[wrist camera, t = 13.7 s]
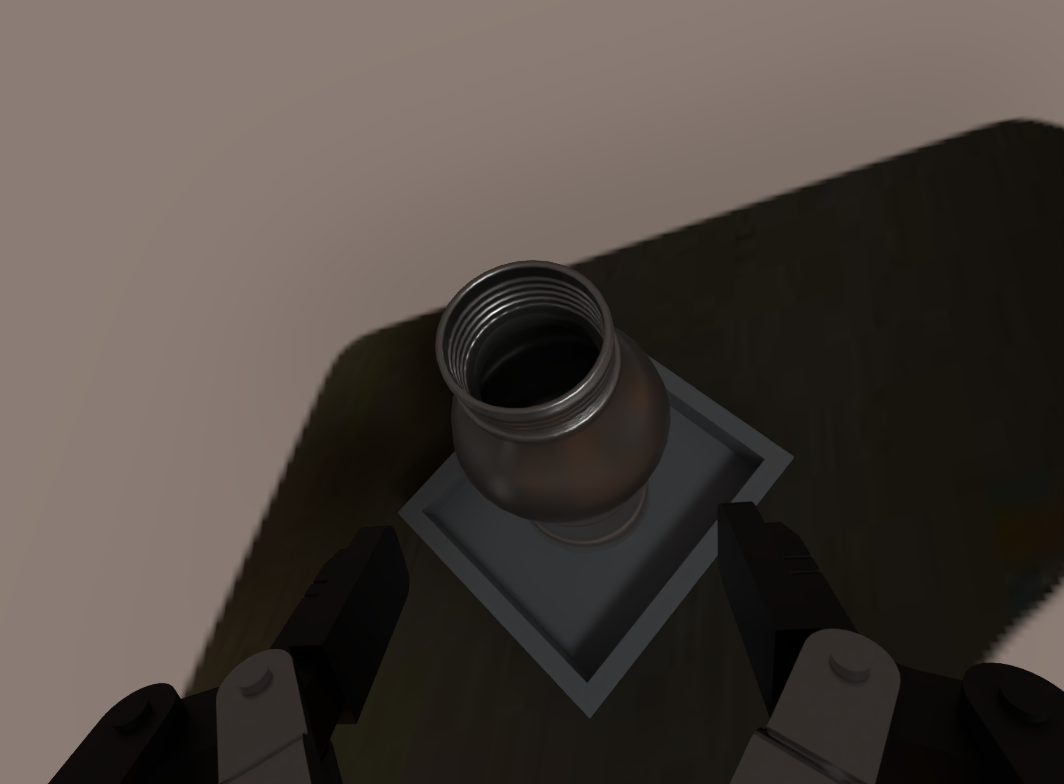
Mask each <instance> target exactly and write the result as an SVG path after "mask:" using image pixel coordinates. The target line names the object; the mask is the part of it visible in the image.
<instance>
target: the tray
mask: <svg viewBox="0 0 1064 784" xmlns="http://www.w3.org/2000/svg"><path fill="white" fill-rule="evenodd" d="M647 356H648V355H647ZM648 357H649V356H648ZM649 358H650V360H651V361H652V363H653V364H654V366H655V367H656V369H657V371H658V373H659V375H660V376H661V378H662V380H663V382H664V385H665V388H666V392H667V395H668V399H669V404H670V418H671V423H670V430H669V436H668V442H667V445H666V447H665V450H664V452H663V455H662V457H661V460H660V462H659V464H658V465H657V467H656V469H655V470H654V472H653V473H652V475H651V476H650V478H649V480H650V489H651V496H650V502H649V508H648V510H647V513H646V515H645V518H644V520H643V521H642V523H641V524H640V526H639V527H638V529H637V530H636V531H635V532H634V533H633V534H632V535H631V536H630V537H629V538H628V539H627V540H625V541H624V542H622V543H621V544H619V545H618V546H616V547H613V548H611V549H608V550H606V551H601V552H596V553H575V552H571V551H566V550H563V549H561V548H559V547H557V546H554V545H552V544H551V543H550V542H548V541H547V540H545V539H544V538H543V537H542V536H541V535H540V534H539V533H538V532H537V531H536V530H535V529H534V528H533V526H532V524H531V523H530V521H529V520H527V519H525V518H521V517H519V516H516V515H514V514H512V513H509V512H507V511H505V510H502V509H501V508H499V507H498V506H496V505H495V504H493V503H492V502H491V501H489V500H488V499H486V498H485V497H484V496H483V495H482V494H481V493H480V492H479V491H478V490H477V489H476V488H475V487H474V486H473V484H472V483H471V482H470V481H469V479H468V477H467V476H466V474H465V472H464V471H463V469H462V467H461V466H460V463H459V460H458V457H457V454H456V451H454V452H453V454H452V455H451V456H450V457H449V458H448V459H447V460H446V461H445V462H444V463H443V464H442V465H441V466H440V468H439V469H438V470H437V471H436V472H435V473H434V474H433V475H432V476H431V477H430V478H429V479H428V481H427V482H426V483H425V484H424V485H423V486H422V487H421V488H420V489H419V490H418V491H417V492H416V493H415V495H414V496H413V497H412V498H411V499H410V500H409V501H408V502H407V503H406V504H405V505H404V506H403V508H402V509H401V510H400V511H399V512H398V514H399V515H400V516H401V517H402V518H403V519H404V520H405V521H406V522H407V523H408V524H409V526H410V527H411V528H412V529H413V530H414V531H415V532H416V533H417V534H418V535H419V536H420V537H421V538H422V539H423V540H424V542H425V543H426V544H427V545H428V546H429V547H430V548H431V549H432V550H433V551H434V552H435V553H436V554H437V555H438V557H439V558H440V559H441V560H442V561H443V562H444V563H445V564H446V565H447V566H448V567H449V568H450V569H451V570H452V572H453V573H454V574H455V575H456V576H457V577H458V578H459V579H460V580H461V581H462V582H463V583H464V584H465V585H466V587H467V588H468V589H469V590H470V591H471V592H472V593H473V594H474V595H475V596H476V597H477V598H478V599H479V600H480V602H481V603H482V604H483V605H484V606H485V607H486V608H487V609H488V610H489V611H490V612H491V613H492V614H493V615H494V616H495V618H496V619H497V620H498V621H499V622H500V623H501V624H502V625H503V626H504V627H505V628H506V629H507V630H508V631H509V633H510V634H511V635H512V636H513V637H514V638H515V639H516V640H517V641H518V642H519V643H520V644H521V645H522V646H523V648H524V649H525V650H526V651H527V652H528V653H529V654H530V655H531V656H532V657H533V658H534V659H535V660H536V661H537V663H538V664H539V665H540V666H541V667H542V668H543V669H544V670H545V671H546V672H547V673H548V674H549V675H550V676H551V678H552V679H553V680H554V681H555V682H556V683H557V684H558V685H559V686H560V687H561V688H562V689H563V690H564V691H565V692H566V694H567V695H568V696H569V697H570V698H571V699H572V700H573V701H574V702H575V703H576V704H577V705H578V706H579V707H580V709H581V710H582V711H583V712H584V713H585V714H586V715H587V716H588V717H589V718H591V716H592V715H593V714H594V713H595V711H596V710H597V709H598V708H599V706H600V705H601V704H602V702H603V701H604V700H605V699H606V697H607V696H608V695H609V693H610V692H611V691H612V690H613V688H614V687H615V686H616V684H617V683H618V682H619V681H620V679H621V678H622V677H623V676H624V674H625V673H626V672H627V670H628V669H629V668H630V667H631V665H632V664H633V663H634V661H635V660H636V659H637V658H638V656H639V655H640V654H641V652H642V651H643V650H644V649H645V647H646V646H647V645H648V644H649V642H650V641H651V640H652V638H653V637H654V636H655V635H656V633H657V632H658V631H659V629H660V628H661V627H662V626H663V624H664V623H665V622H666V621H667V619H668V618H669V617H670V615H671V614H672V613H673V612H674V610H675V609H676V608H677V606H678V605H679V604H680V603H681V601H682V600H683V599H684V597H685V596H686V595H687V594H688V592H689V591H690V590H691V589H692V587H693V586H694V585H695V583H696V582H697V581H698V580H699V578H700V577H701V576H702V574H703V573H704V572H705V571H706V569H707V568H708V567H709V565H710V564H711V563H712V562H713V560H714V559H715V558H716V557H717V555H718V520H717V510H718V505H719V503H734V502H748V501H752V502H753V503H754V504H755V505H757V504H758V503H759V502H760V500H761V499H762V498H763V496H764V495H765V494H766V493H767V491H768V490H769V489H770V487H771V486H772V485H773V484H774V482H775V481H776V480H777V478H778V477H779V476H780V475H781V473H782V472H783V471H784V470H785V468H786V467H787V466H788V464H789V463H790V462H791V461H792V459H793V458H794V456H792V455H791V454H789V453H788V452H786V451H785V450H783V449H782V448H781V447H779V446H778V445H776V444H775V443H773V442H772V441H770V440H769V439H768V438H766V437H765V436H763V435H762V434H760V433H759V432H757V431H756V430H755V429H753V428H752V427H750V426H749V425H747V424H746V423H744V422H743V421H742V420H740V419H739V418H737V417H736V416H734V415H733V414H731V413H730V412H729V411H727V410H726V409H724V408H723V407H721V406H720V405H719V404H717V403H716V402H714V401H713V400H711V399H710V398H708V397H707V396H706V395H704V394H703V393H701V392H700V391H698V390H697V389H695V388H694V387H693V386H691V385H690V384H688V383H687V382H685V381H684V380H682V379H681V378H680V377H678V376H677V375H675V374H674V373H672V372H671V371H669V370H668V369H667V368H665V367H664V366H662V365H661V364H659V363H658V362H656V361H655V360H654V359H652V358H651V357H649Z"/></svg>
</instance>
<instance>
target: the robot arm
mask: <svg viewBox="0 0 1064 784" xmlns="http://www.w3.org/2000/svg"><path fill="white" fill-rule="evenodd" d="M717 520H718V564H719V570H720V575H721V579H722V583H723V586H724V588H725V591H726V594H727V597H728V600H729V603H730V606H731V608H732V611H733V614H734V617H735V620H736V623H737V626H738V628H739V631H740V634H741V637H742V640H743V643H744V646H745V648H746V651H747V654H748V657H749V660H750V663H751V666H752V668H753V671H754V674H755V677H756V680H757V683H758V685H759V688H760V691H761V694H762V697H763V700H764V703H765V705H766V708H767V711H768V714H769V717H770V721H769V723H768V725H767V727H766V728H765V729H763V728H758V729H757V730H756V731H755V733H754V734H753V736H752V738H751V740H750V742H749V744H748V746H747V748H746V750H745V753H744V755H743V757H742V759H741V761H740V763H739V766H738V768H737V770H736V772H735V774H734V776H733V778H732V781H731V783H730V784H1064V691H1062V690H1061V689H1059V688H1058V687H1057V686H1055V685H1054V684H1052V683H1050V682H1049V681H1047V680H1046V679H1044V678H1042V677H1040V676H1038V675H1036V674H1034V673H1032V672H1029V671H1026V670H1024V669H1022V668H1018V667H1015V666H1012V665H1007V664H1002V663H981V664H977V665H975V666H973V667H971V668H970V669H968V670H967V671H966V673H965V675H964V677H963V681H962V680H958V679H954V678H949V677H945V676H940V675H936V674H932V673H927V672H923V671H919V670H915V669H912V668H908V667H906V666H903V665H900V664H898V663H896V662H894V661H893V659H892V658H891V657H890V656H889V654H888V653H887V652H886V651H885V650H884V649H883V648H881V647H880V646H879V645H877V644H876V643H875V642H873V641H871V640H870V639H868V638H866V637H864V636H862V635H860V634H859V633H858V632H857V630H856V629H855V627H854V625H853V624H852V622H851V621H850V619H849V617H848V616H847V614H846V612H845V611H844V609H843V607H842V606H841V604H840V602H839V601H838V599H837V597H836V596H835V594H834V592H833V591H832V589H831V587H830V586H829V584H828V582H827V581H826V579H825V578H824V576H823V574H822V573H820V569H819V568H818V566H817V564H816V563H815V561H814V559H813V558H811V554H810V553H809V551H808V549H807V548H806V546H805V544H804V543H803V541H802V540H801V538H800V537H799V536H798V535H797V534H796V533H794V532H793V531H792V530H790V529H789V528H788V527H787V526H785V525H784V524H783V523H781V522H774V523H765V522H764V521H763V519H762V517H761V515H760V513H759V511H758V509H757V507H756V505H755V504H754V503H753V502H752V501H748V502H734V503H719V505H718V510H717ZM408 591H409V574H408V569H407V566H406V563H405V560H404V557H403V554H402V550H401V547H400V544H399V541H398V538H397V535H396V532H395V530H394V528H393V527H392V526H378V527H364V528H361V529H360V530H359V531H358V532H357V534H356V535H355V537H354V539H353V540H352V542H351V544H350V545H349V547H348V549H341V550H340V551H339V552H338V553H337V554H335V555H334V556H333V557H332V558H331V559H330V560H329V561H327V562H326V563H325V564H324V566H323V567H322V569H321V570H320V572H319V573H318V575H317V576H316V578H315V580H314V584H311V586H310V587H309V589H308V590H307V592H306V594H305V598H302V600H301V601H300V603H299V604H298V606H297V607H296V609H295V611H294V612H293V614H292V615H291V617H290V618H289V620H288V621H287V623H286V625H285V626H284V628H283V629H282V631H281V632H280V634H279V635H278V637H277V639H276V640H275V642H274V643H273V645H272V646H271V648H270V649H269V650H266V651H262V652H259V653H257V654H255V655H253V656H251V657H249V658H247V659H246V660H244V661H243V662H242V663H240V664H239V665H238V666H237V667H235V668H234V669H233V670H232V671H231V672H230V673H229V674H228V676H227V677H226V678H225V679H224V681H223V682H222V684H221V686H220V687H217V688H214V689H211V690H208V691H204V692H201V693H198V694H195V695H192V696H189V697H186V698H183V699H181V698H180V697H179V695H178V694H177V692H176V690H175V689H174V688H173V686H171V685H169V684H166V683H158V684H153V685H149V686H146V687H144V688H141V689H139V690H137V691H135V692H133V693H132V694H130V695H128V696H127V697H125V698H124V699H122V700H121V701H120V702H118V703H117V704H116V705H115V706H113V707H112V708H111V709H110V710H109V711H108V712H107V713H106V714H105V715H104V716H103V717H102V718H101V720H100V721H99V722H98V723H97V724H96V726H95V727H94V728H93V729H92V730H91V732H90V733H89V734H88V735H87V737H86V738H85V739H84V740H83V741H82V743H81V744H80V745H79V746H78V748H77V749H76V750H75V751H74V753H73V754H72V755H71V756H70V758H69V759H68V760H67V761H66V762H65V764H64V765H63V766H62V767H61V768H60V770H59V771H58V772H57V773H56V775H55V776H54V777H53V778H52V779H51V781H50V782H49V783H48V784H343V783H342V779H341V775H340V771H339V767H338V763H337V759H336V755H335V751H334V748H333V745H332V742H331V740H330V737H331V735H332V733H333V731H334V728H335V726H336V724H357V721H358V719H359V716H360V714H361V711H362V709H363V706H364V704H365V701H366V699H367V696H368V694H369V691H370V689H371V686H372V684H373V681H374V679H375V676H376V674H377V671H378V669H379V666H380V664H381V661H382V659H383V656H384V654H385V651H386V649H387V646H388V644H389V641H390V639H391V636H392V634H393V631H394V629H395V626H396V624H397V621H398V619H399V616H400V614H401V611H402V609H403V606H404V604H405V601H406V599H407V596H408Z"/></svg>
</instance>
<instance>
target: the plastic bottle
mask: <svg viewBox="0 0 1064 784" xmlns="http://www.w3.org/2000/svg"><path fill="white" fill-rule="evenodd" d="M435 349H436V358H437V362H438V365H439V368H440V371H441V374H442V376H443V379H444V380H445V382H446V383H447V385H448V387H449V388H450V390H451V391H452V392H453V393H454V396H453V399H452V410H451V425H452V434H453V443H454V448H455V451H456V454H457V457H458V460H459V463H460V466H461V467H462V469H463V471H464V472H465V474H466V476H467V477H468V479H469V481H470V482H471V483H472V484H473V486H474V487H475V488H476V489H477V490H478V491H479V492H480V493H481V494H482V495H483V496H484V497H485V498H486V499H488V500H489V501H491V502H492V503H493V504H495V505H496V506H498V507H499V508H501V509H502V510H505V511H507V512H509V513H512V514H514V515H516V516H519V517H521V518H525V519H527V520H529V521H530V523H531V524H532V526H533V528H534V529H535V530H536V531H537V532H538V533H539V534H540V535H541V536H542V537H543V538H544V539H545V540H547V541H548V542H550V543H551V544H552V545H554V546H557V547H559V548H561V549H563V550H566V551H571V552H575V553H596V552H601V551H606V550H608V549H611V548H613V547H616V546H618V545H619V544H621V543H622V542H624V541H625V540H627V539H628V538H629V537H630V536H631V535H632V534H633V533H634V532H635V531H636V530H637V529H638V527H639V526H640V524H641V523H642V521H643V520H644V518H645V515H646V513H647V510H648V508H649V502H650V496H651V489H650V480H649V478H650V476H651V475H652V473H653V472H654V470H655V469H656V467H657V465H658V464H659V462H660V460H661V457H662V455H663V452H664V450H665V447H666V445H667V442H668V436H669V430H670V423H671V418H670V404H669V399H668V395H667V392H666V388H665V385H664V382H663V380H662V378H661V376H660V375H659V373H658V371H657V369H656V367H655V366H654V364H653V363H652V361H651V360H650V358H649V357H648V356H647V354H646V353H645V352H644V351H643V350H642V349H641V348H640V346H639V345H638V344H637V343H636V342H635V341H634V340H632V339H631V338H630V337H629V336H627V335H626V334H625V333H623V332H622V331H621V330H619V329H617V328H615V327H614V325H613V321H612V317H611V314H610V310H609V308H608V306H607V304H606V302H605V300H604V298H603V297H602V295H601V293H600V292H599V290H598V289H597V288H596V287H595V286H594V285H593V284H592V282H591V281H590V280H588V279H587V278H585V277H584V276H583V275H581V274H580V273H579V272H577V271H575V270H573V269H570V268H568V267H566V266H564V265H560V264H556V263H552V262H548V261H536V260H530V261H518V262H513V263H509V264H505V265H501V266H498V267H496V268H493V269H491V270H489V271H486V272H484V273H483V274H481V275H479V276H478V277H476V278H474V279H473V280H471V281H470V282H469V283H468V284H467V285H466V286H464V287H463V288H462V289H461V290H460V291H459V292H458V293H457V294H456V295H455V296H454V298H453V299H452V300H451V301H450V303H449V304H448V306H447V308H446V309H445V311H444V313H443V315H442V317H441V320H440V323H439V326H438V329H437V333H436V342H435Z"/></svg>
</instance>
